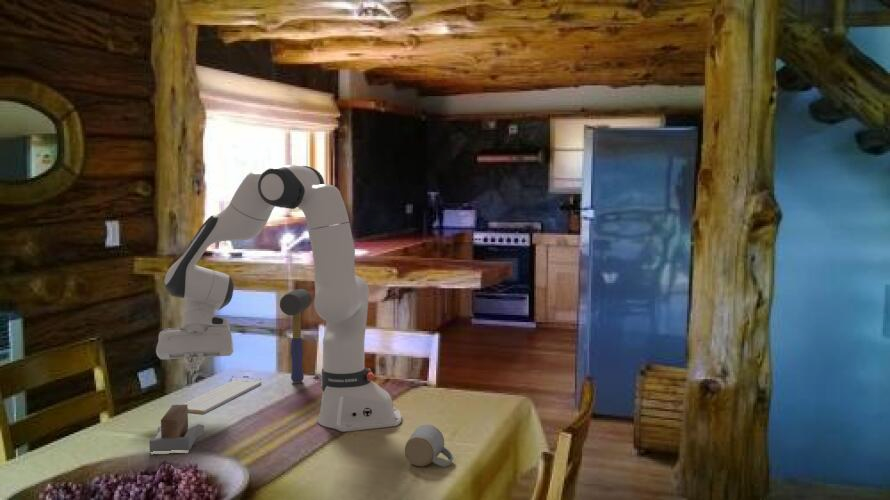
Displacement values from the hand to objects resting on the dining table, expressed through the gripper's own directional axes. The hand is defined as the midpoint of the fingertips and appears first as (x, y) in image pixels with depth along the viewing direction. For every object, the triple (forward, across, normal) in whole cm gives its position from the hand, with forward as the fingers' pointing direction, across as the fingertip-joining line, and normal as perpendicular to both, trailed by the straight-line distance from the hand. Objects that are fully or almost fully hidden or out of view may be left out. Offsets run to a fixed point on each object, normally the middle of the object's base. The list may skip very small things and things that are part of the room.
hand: (192, 369), depth 197 cm
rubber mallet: (-13, +25, +33) cm, 43 cm away
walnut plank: (+24, -1, -4) cm, 24 cm away
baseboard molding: (-4, +2, +24) cm, 25 cm away
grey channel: (+24, -1, -5) cm, 25 cm away
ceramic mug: (+39, +60, -17) cm, 73 cm away
